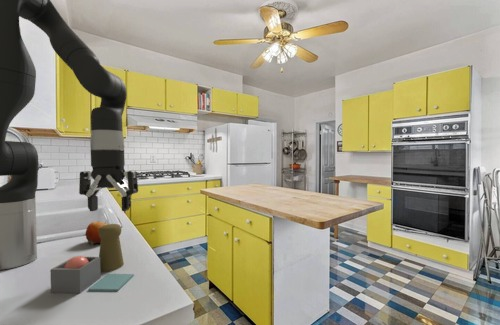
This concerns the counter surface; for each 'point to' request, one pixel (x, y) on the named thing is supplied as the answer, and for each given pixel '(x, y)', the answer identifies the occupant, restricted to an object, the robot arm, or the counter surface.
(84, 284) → the housing
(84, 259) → the salmon pink ball
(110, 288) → the tile
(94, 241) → the fruit
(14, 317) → the counter surface
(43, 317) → the counter surface
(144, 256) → the counter surface
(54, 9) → the robot arm
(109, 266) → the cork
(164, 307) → the counter surface
